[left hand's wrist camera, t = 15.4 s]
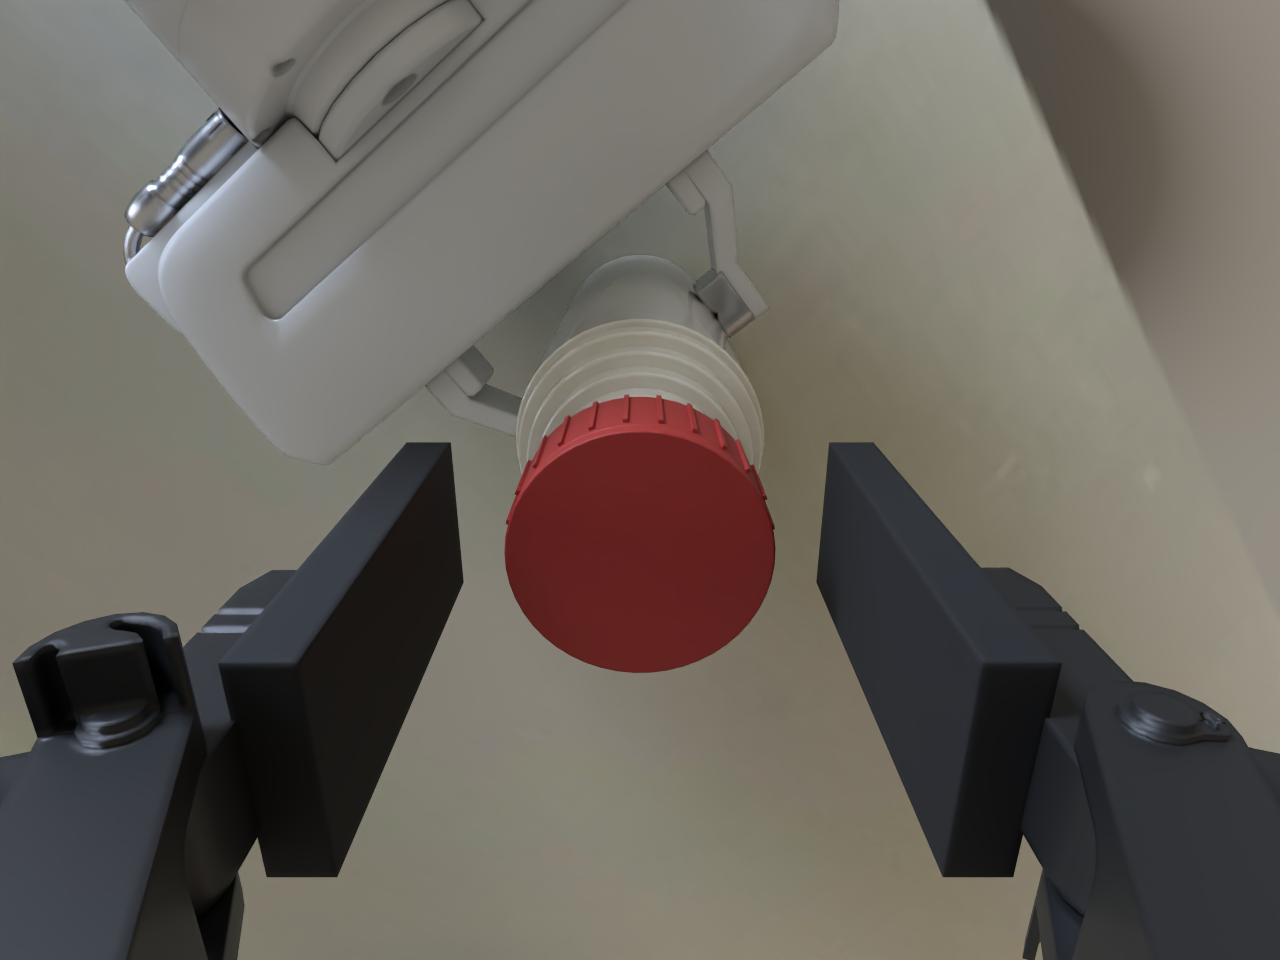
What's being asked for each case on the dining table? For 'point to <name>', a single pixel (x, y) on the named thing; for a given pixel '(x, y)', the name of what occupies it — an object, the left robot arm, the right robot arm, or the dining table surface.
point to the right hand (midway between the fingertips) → (658, 388)
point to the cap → (639, 536)
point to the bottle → (639, 355)
